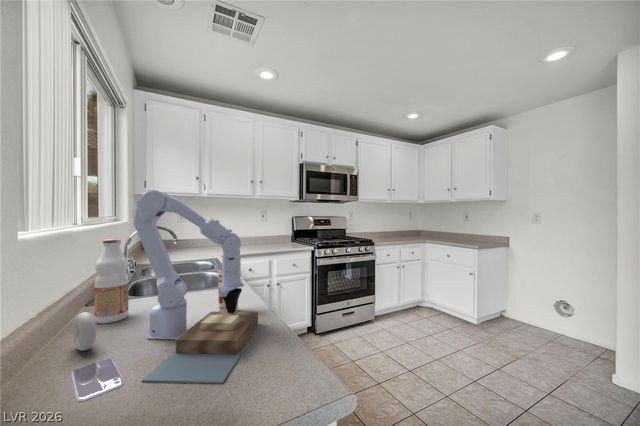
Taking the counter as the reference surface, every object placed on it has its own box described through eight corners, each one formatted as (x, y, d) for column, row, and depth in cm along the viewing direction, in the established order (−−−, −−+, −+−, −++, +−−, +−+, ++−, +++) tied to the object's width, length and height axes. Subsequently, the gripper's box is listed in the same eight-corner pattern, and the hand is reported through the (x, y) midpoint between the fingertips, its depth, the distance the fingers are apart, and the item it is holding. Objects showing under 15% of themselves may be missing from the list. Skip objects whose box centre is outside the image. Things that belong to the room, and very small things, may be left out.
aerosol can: (216, 311, 99) (216, 258, 99) (234, 307, 103) (233, 256, 103) (222, 317, 93) (221, 261, 94) (240, 312, 98) (240, 259, 98)
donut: (98, 352, 70) (98, 314, 70) (80, 358, 67) (80, 318, 67) (87, 341, 76) (87, 307, 76) (71, 346, 73) (71, 310, 73)
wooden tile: (200, 329, 74) (200, 322, 74) (210, 321, 80) (210, 314, 80) (231, 330, 74) (231, 323, 74) (239, 321, 80) (239, 314, 80)
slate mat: (141, 381, 57) (141, 380, 57) (174, 353, 69) (174, 351, 69) (222, 383, 57) (222, 381, 57) (241, 354, 69) (241, 352, 69)
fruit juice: (103, 326, 86) (103, 241, 87) (88, 321, 91) (89, 240, 91) (134, 316, 95) (134, 238, 95) (119, 312, 99) (119, 238, 99)
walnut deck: (175, 355, 68) (175, 339, 68) (210, 323, 88) (210, 311, 88) (236, 356, 68) (236, 340, 68) (257, 323, 88) (257, 311, 88)
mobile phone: (111, 356, 67) (125, 381, 57) (111, 360, 67) (125, 386, 56) (70, 369, 61) (77, 400, 51) (70, 374, 61) (77, 405, 51)
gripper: (235, 275, 78) (235, 321, 78) (250, 266, 93) (250, 304, 93) (212, 275, 79) (212, 321, 78) (230, 266, 93) (230, 304, 93)
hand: (231, 312), depth 86 cm, fingers closed
